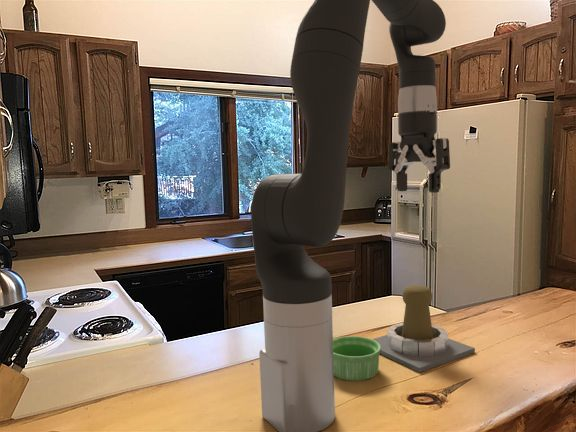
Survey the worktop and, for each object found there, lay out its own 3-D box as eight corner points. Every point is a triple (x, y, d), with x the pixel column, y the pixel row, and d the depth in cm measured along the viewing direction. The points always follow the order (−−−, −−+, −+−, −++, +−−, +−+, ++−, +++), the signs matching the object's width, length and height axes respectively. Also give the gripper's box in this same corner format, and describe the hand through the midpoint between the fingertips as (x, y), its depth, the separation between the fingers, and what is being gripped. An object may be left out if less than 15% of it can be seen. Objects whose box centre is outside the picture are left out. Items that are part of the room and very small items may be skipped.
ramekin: (326, 383, 74) (325, 356, 73) (327, 359, 83) (326, 335, 82) (383, 384, 73) (383, 357, 72) (378, 359, 82) (378, 335, 81)
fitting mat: (419, 372, 76) (419, 368, 76) (363, 346, 88) (362, 341, 88) (474, 352, 83) (474, 347, 83) (415, 330, 95) (415, 326, 95)
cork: (431, 339, 88) (430, 282, 87) (438, 351, 82) (437, 290, 81) (398, 339, 88) (397, 282, 87) (403, 351, 82) (402, 291, 81)
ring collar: (418, 361, 78) (418, 347, 78) (376, 342, 87) (376, 329, 87) (459, 347, 84) (459, 333, 83) (416, 330, 92) (415, 318, 92)
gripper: (378, 114, 98) (380, 191, 99) (432, 106, 85) (432, 194, 87) (404, 115, 101) (405, 189, 103) (459, 107, 89) (458, 191, 91)
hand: (417, 191), depth 95 cm, fingers open, 8 cm apart
